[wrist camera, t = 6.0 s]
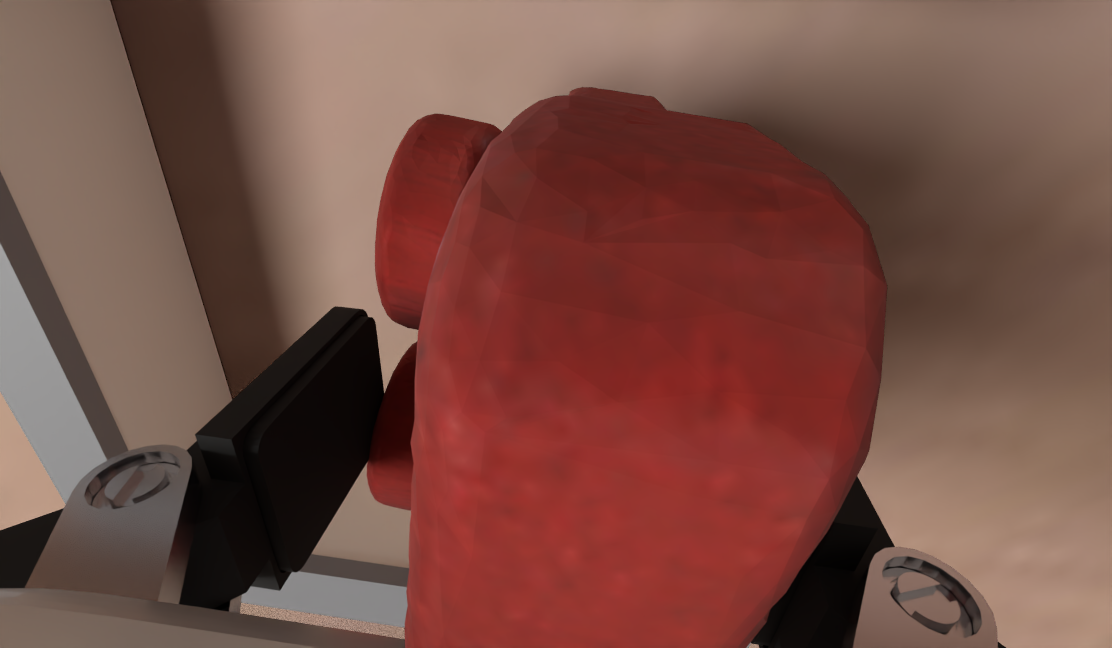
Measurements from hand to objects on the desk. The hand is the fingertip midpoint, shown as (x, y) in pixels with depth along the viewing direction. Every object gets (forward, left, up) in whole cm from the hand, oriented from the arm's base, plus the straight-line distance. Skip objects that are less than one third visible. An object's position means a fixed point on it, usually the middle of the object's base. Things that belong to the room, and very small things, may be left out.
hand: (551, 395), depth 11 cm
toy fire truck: (0, 0, -3) cm, 3 cm away
